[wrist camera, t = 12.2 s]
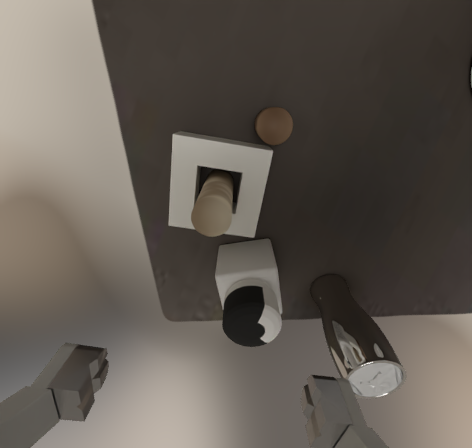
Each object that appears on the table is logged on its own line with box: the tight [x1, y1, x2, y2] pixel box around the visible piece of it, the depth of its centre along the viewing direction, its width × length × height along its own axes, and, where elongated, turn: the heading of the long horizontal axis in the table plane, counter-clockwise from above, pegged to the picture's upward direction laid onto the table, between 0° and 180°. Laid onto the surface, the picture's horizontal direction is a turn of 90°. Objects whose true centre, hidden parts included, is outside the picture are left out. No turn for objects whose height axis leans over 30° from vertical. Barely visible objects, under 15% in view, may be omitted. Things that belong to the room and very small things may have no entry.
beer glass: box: [310, 274, 406, 399], centre depth 33 cm, size 7×7×15 cm
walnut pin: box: [254, 107, 293, 145], centre depth 27 cm, size 4×4×5 cm
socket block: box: [169, 131, 273, 238], centre depth 31 cm, size 11×11×4 cm
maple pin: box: [191, 169, 234, 237], centre depth 27 cm, size 4×4×12 cm
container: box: [215, 238, 282, 347], centre depth 32 cm, size 8×8×13 cm
